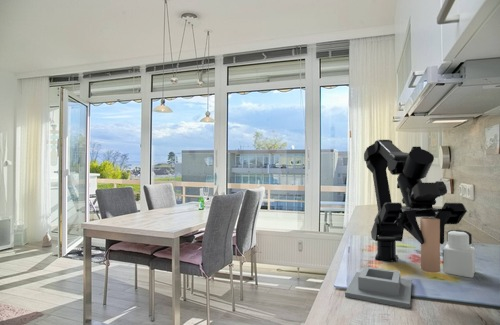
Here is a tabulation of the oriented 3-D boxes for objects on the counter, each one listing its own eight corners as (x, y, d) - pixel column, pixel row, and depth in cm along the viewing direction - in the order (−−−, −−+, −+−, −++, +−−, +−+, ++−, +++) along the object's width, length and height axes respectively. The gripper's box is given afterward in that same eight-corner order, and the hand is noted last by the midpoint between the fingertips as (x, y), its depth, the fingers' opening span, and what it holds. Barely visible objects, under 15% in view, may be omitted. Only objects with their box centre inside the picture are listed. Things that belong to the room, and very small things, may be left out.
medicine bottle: (447, 266, 99) (446, 227, 98) (475, 271, 94) (475, 230, 94) (443, 273, 93) (442, 231, 93) (472, 278, 88) (472, 234, 88)
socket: (356, 275, 92) (356, 261, 92) (411, 283, 85) (411, 268, 85) (345, 296, 77) (344, 279, 77) (409, 308, 71) (409, 290, 71)
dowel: (421, 265, 79) (420, 216, 78) (440, 268, 77) (439, 218, 76) (420, 270, 75) (419, 219, 75) (440, 273, 73) (439, 221, 73)
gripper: (383, 170, 80) (399, 223, 70) (462, 169, 79) (491, 224, 68) (374, 198, 88) (387, 249, 78) (446, 198, 87) (470, 250, 76)
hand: (432, 243), depth 74 cm, fingers closed on dowel, 4 cm apart
